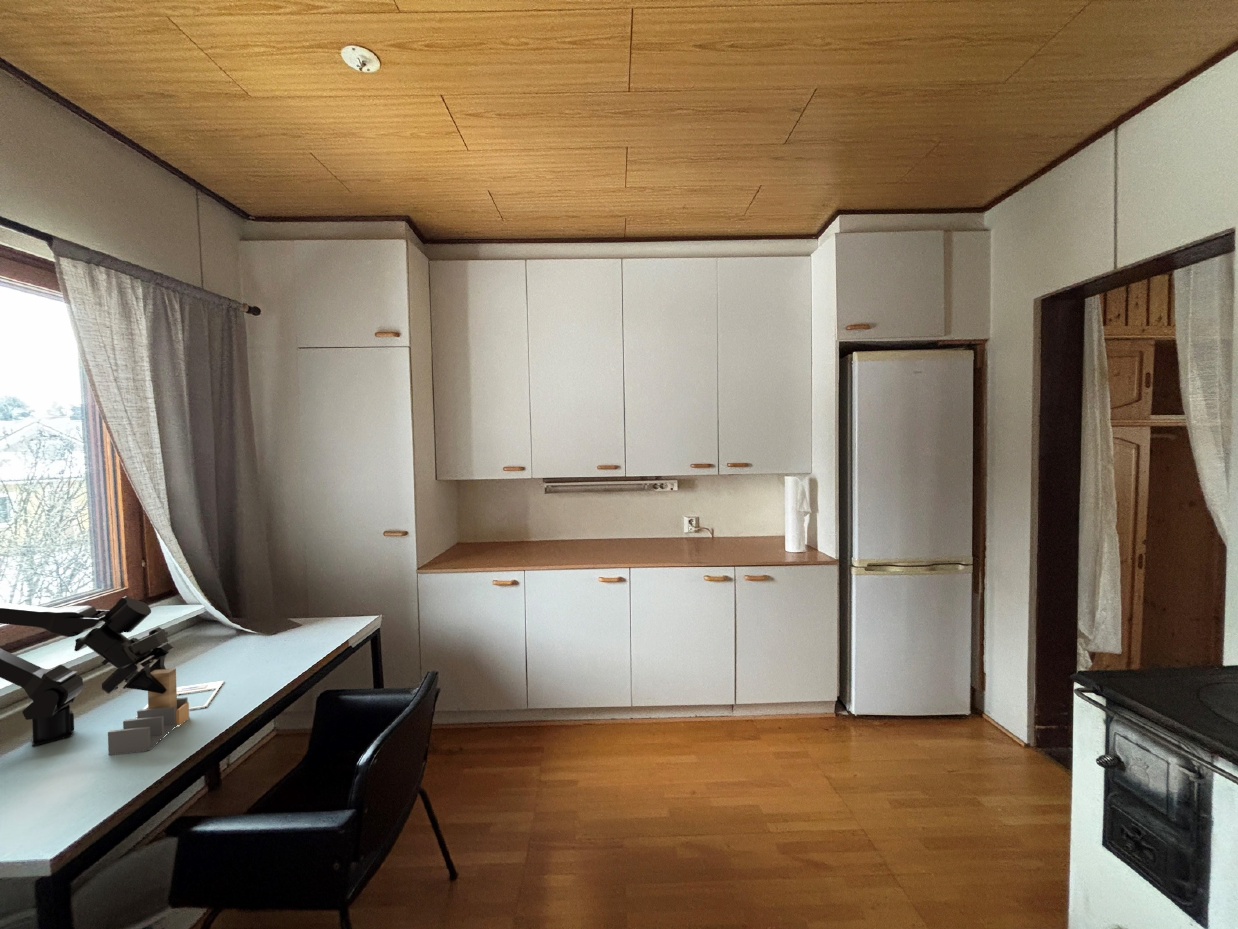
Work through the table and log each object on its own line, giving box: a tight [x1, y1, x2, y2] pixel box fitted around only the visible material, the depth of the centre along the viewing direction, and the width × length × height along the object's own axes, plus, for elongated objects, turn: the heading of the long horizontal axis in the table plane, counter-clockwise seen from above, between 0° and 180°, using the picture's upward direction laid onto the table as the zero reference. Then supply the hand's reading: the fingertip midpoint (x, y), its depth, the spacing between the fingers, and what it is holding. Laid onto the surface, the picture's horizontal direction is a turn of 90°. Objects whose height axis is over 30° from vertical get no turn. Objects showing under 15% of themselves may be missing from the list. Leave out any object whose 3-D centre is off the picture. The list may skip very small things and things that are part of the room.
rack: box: [107, 697, 190, 756], centre depth 134 cm, size 8×16×5 cm, turn 12°
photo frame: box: [134, 680, 225, 719], centre depth 154 cm, size 15×1×18 cm
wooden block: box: [147, 668, 178, 710], centre depth 139 cm, size 4×3×11 cm, turn 102°
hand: (168, 689), depth 139 cm, fingers closed on wooden block, 3 cm apart
